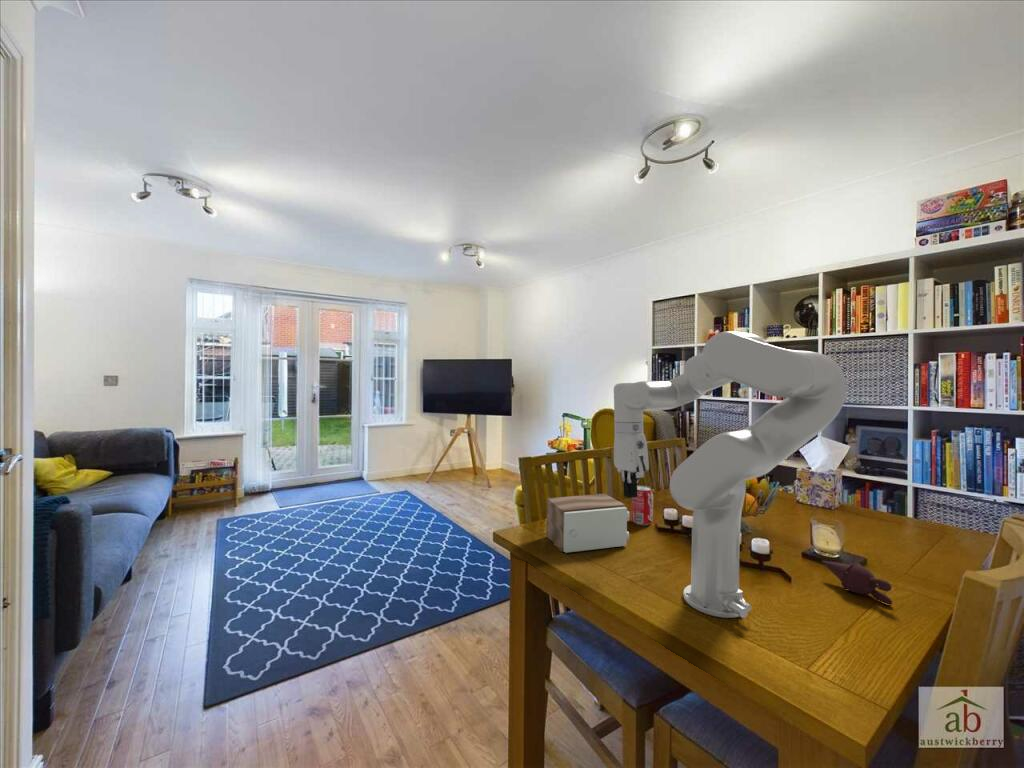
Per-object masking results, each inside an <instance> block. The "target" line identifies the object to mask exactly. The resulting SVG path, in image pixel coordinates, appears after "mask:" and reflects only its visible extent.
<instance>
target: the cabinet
mask: <svg viewBox="0 0 1024 768" xmlns="http://www.w3.org/2000/svg"><path fill="white" fill-rule="evenodd" d="M618 507H626V504H624V503H623V502H621V501H619V500H617V499H615V498H614V497H612V496H610V495H608V494H606V493H596V494H583V495H572V496H571V495H570V496H559V497H549V498H546V535H545V537H546V536H547V537H548V538H549V539H550V540H551V541H552V542H553V543H554V544H555V545H556V546H557V547H558V548H559V549H560V550H561V551H562V552H564V551H563V535H564V512H572V511H584V510H595V509H606V508H618ZM547 537H546V538H547ZM548 538H547V539H548ZM549 539H548V540H549ZM550 540H549V541H550ZM551 541H550V542H551ZM552 542H551V543H552ZM553 543H552V544H553ZM554 544H553V545H554ZM555 545H554V546H555ZM556 546H555V547H556ZM557 547H556V548H557ZM558 548H557V549H558ZM559 549H558V550H559ZM560 550H559V551H560ZM561 551H560V552H561ZM562 552H561V553H562Z"/></svg>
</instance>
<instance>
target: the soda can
mask: <svg viewBox="0 0 1024 768" xmlns="http://www.w3.org/2000/svg"><path fill="white" fill-rule="evenodd" d="M630 503H631V504H630V514H631V515H630V517H631V521H632V522H633V523H634V524H636V525H638V526H649V525H651V524H652V523H653V520H654V519H653V517H654V493H653V492H652V488H651V487H650V486H647V485H637V497H633V498H631V501H630Z"/></svg>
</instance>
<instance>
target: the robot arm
mask: <svg viewBox="0 0 1024 768" xmlns="http://www.w3.org/2000/svg"><path fill="white" fill-rule="evenodd" d="M683 369H684V370H683V371H684V373H682V374H680V375H678V376H676V377H674V378H671V379H669V380H645V381H644V380H643V381H637V382H623V383H622V382H621V383H616V384H615V385H614V387H613V412H614V413H613V415H614V418H613V419H614V438H613V440H614V441H613V464H614V467H615V468H616V471H617V472H618V473H619V474H621V475H620V476H621V480H622V482H623V497H624V498H627V499H630V498H633V497H637V486H638V482H639V481H640V479H641V478H644V477H645V472H646V473H647V472H648V471H649V469H650V463H649V461H650V460H649V450H648V442H647V438H646V434H644V412H646V411H647V412H648V411H650V412H651V411H663V410H665V411H666V410H672V409H676V408H678V407H681V406H684V405H686V404H689V403H692V402H694V401H697V400H698V399H700V398H701V397H703V396H704V395H706V394H707V393H708V392H710V391H712V390H715V389H717V388H721V387H722V386H725V385H728V384H731V383H737V384H740V385H743V386H745V387H747V388H750V389H752V390H755V391H758V392H761V393H763V394H766V395H768V396H773V397H776V398H784V399H782V401H780V402H778V403H777V404H775V405H773V406H772V407H770V408H769V409H768V410H767V411H765V412H764V413H763V414H762V415H761V416H760V417H759V418H758V419H756V421H754V422H752V423H751V424H750V425H749V426H747V427H745V428H743V429H740V430H736V431H735V430H734V431H728V432H727V431H726V432H721V433H719V434H716V435H714V436H712V437H710V438H709V439H707V440H706V441H705V442H703V444H701V445H700V446H699V447H698V448H697V449H696V450H695V451H694V452H692V454H689V456H688V457H687V458H686V459H684V461H682V462H681V463H680V464H679V465H677V467H676V468H675V469H674V471H673V473H672V474H671V477H670V480H669V491H670V492H669V493H670V495H671V498H673V500H674V502H675V503H676V504H678V505H679V506H680V507H682V508H684V509H686V510H688V511H693V514H692V520H691V521H692V526H691V558H690V559H691V563H690V564H691V565H690V567H691V568H690V570H691V571H690V584H688V585H687V586H686V587H684V589H683V599H684V601H685V602H686V603H687V604H688V605H689V606H691V608H693V609H695V610H697V611H699V612H701V613H704V614H705V615H709V616H713V617H717V618H722V619H724V618H725V619H731V618H732V619H733V618H739V617H741V618H742V619H746V617H747V616H748V613H749V612H750V611H752V605H751V604H750V603H748V602H746V600H745V599H744V598H743V596H744V595H743V593H744V592H743V590H741V589H740V548H741V547H740V544H741V543H740V542H741V541H740V539H741V525H742V524H741V523H742V522H741V520H742V511H743V506H744V502H745V497H746V489H747V487H746V486H747V485H746V481H747V480H750V479H751V480H752V479H756V478H759V477H762V476H765V475H767V474H768V473H769V472H771V471H772V470H773V469H774V468H776V467H777V466H778V465H779V464H781V463H782V462H783V461H785V460H786V459H787V458H789V457H790V456H791V455H792V454H794V453H795V452H797V451H798V450H800V449H801V448H802V447H803V446H804V445H806V444H807V443H808V442H809V441H810V440H812V439H813V438H815V437H816V436H817V435H819V434H820V433H821V432H822V431H824V429H826V428H827V427H828V426H829V425H830V424H831V423H832V422H833V421H834V420H835V419H836V417H837V416H838V415H839V413H840V412H841V409H842V408H843V406H844V403H845V401H846V397H847V396H846V395H847V381H846V377H845V374H844V372H843V369H842V368H841V367H840V365H839V364H838V363H837V362H836V361H835V359H832V357H830V356H828V355H826V354H823V353H820V352H815V351H809V350H799V349H798V350H795V349H786V348H783V347H779V346H775V345H773V344H769V343H767V341H766V340H765V339H764V338H762V337H761V336H759V335H757V334H754V333H749V332H742V331H741V332H740V331H732V330H731V331H721V332H719V333H717V334H714V335H713V336H712V337H711V336H710V338H709V339H708V340H707V341H706V343H705V344H704V346H703V348H702V352H700V353H698V354H696V355H694V356H692V357H690V358H688V360H686V362H685V364H684V368H683Z"/></svg>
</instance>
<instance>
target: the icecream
mask: <svg viewBox="0 0 1024 768" xmlns="http://www.w3.org/2000/svg"><path fill="white" fill-rule="evenodd" d="M821 563H822V564H823V565H824V566H825V567H826V568H827V569H828V570H829V571H830V572H831V573H832V574H833V575H834V576H835V577H837V579H838V580H839V581H840V582H841V586H842V587H843V589H844V590H845V589H849V590H848V591H850V592H852V593H854V592H855V593H854V594H857V593H859V594H858V595H861V594H865V595H864V596H867V595H871V597H872V596H873V598H874V599H875V598H876V600H877V601H878V600H880V601H882V602H884V603H887V604H890V606H892V605H893V601H892V599H891V598H890V597H889V596H888V595H886V594H885V593H882V592H881V591H883V592H889V591H891V590H892V584H891V583H890V582H889V581H887V580H885V579H881V578H876V577H875V576H874V574H873V572H871V571H870V569H868V568H867V567H864V566H863V565H862V564H861V563H859V562H856V563H854V562H853V563H850V564H846V563H841V562H835V561H828V560H822V561H821ZM877 589H878V590H877ZM880 590H881V591H880ZM891 604H892V605H891Z"/></svg>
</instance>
